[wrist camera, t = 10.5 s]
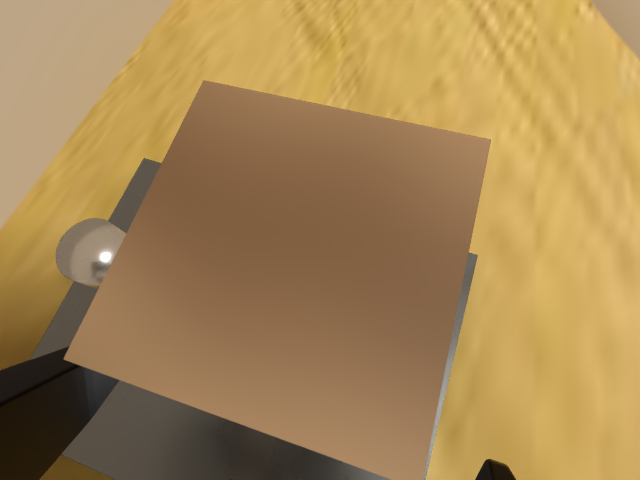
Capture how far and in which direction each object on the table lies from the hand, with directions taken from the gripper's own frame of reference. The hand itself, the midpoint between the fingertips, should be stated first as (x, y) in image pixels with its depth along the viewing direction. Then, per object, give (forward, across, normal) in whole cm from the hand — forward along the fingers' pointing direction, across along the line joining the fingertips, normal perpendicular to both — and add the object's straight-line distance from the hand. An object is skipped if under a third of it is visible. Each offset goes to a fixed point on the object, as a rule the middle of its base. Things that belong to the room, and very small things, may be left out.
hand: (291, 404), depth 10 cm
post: (+7, 0, +4) cm, 8 cm away
